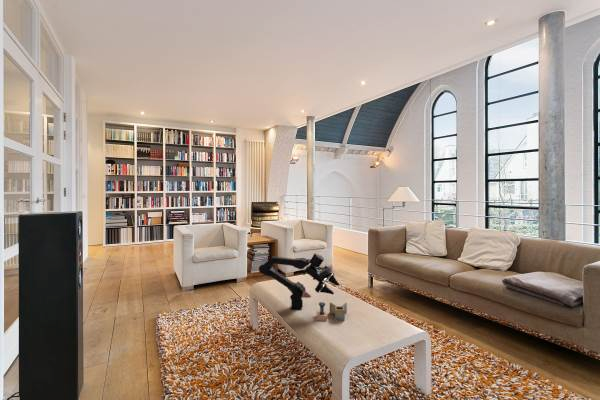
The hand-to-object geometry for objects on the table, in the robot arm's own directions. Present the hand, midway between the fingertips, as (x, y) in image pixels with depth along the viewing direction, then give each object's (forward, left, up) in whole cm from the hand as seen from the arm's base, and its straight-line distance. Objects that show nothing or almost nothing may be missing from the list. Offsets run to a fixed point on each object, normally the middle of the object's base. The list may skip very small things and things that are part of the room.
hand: (336, 289), depth 180 cm
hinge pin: (-9, -7, -14) cm, 18 cm away
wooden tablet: (-24, +37, -15) cm, 46 cm away
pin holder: (-9, -7, -14) cm, 18 cm away
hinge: (+1, -4, -14) cm, 15 cm away
